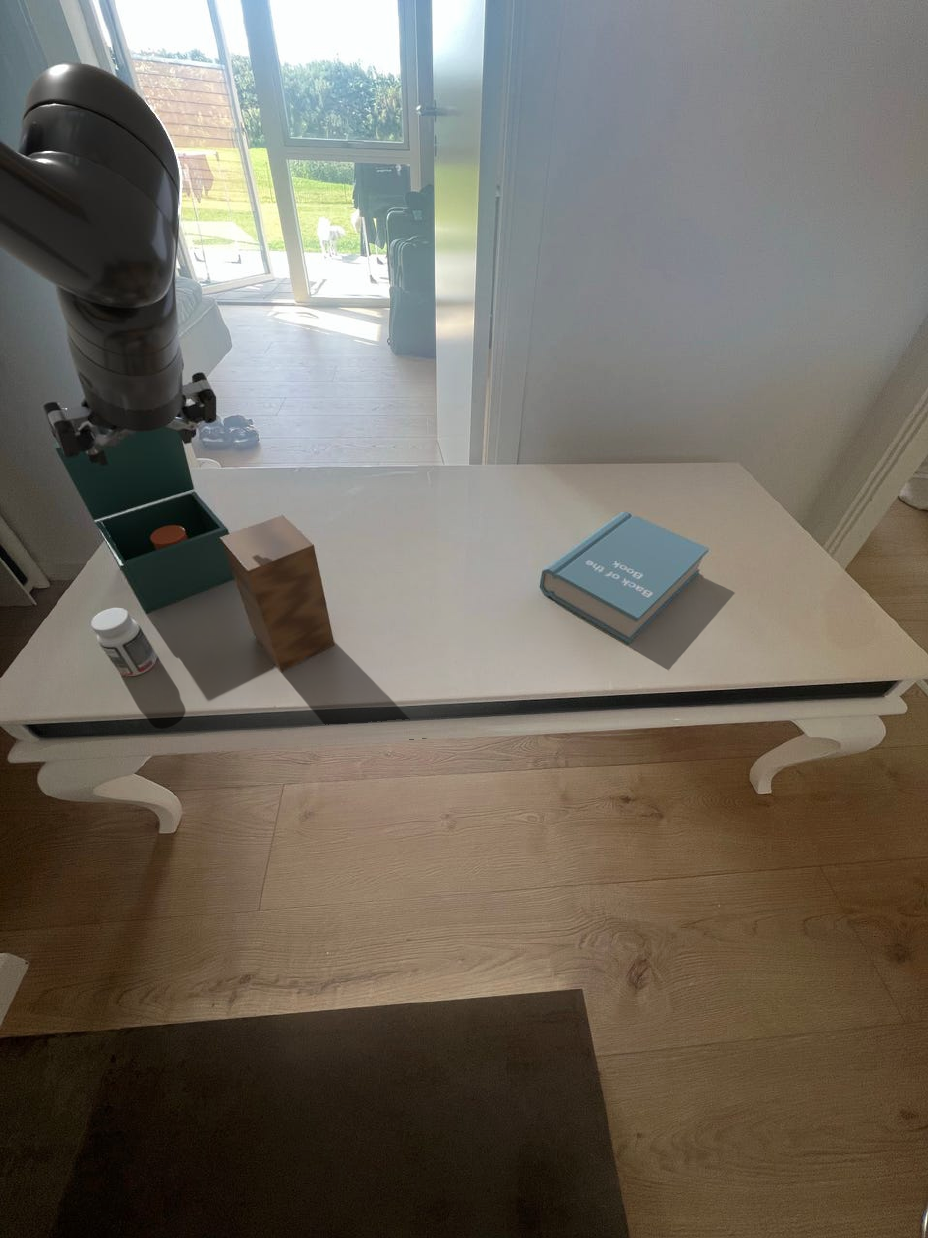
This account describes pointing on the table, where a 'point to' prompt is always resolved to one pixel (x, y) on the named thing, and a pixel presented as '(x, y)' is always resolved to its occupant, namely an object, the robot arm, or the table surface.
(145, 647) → the pill bottle
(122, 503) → the lid
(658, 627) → the table surface
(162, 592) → the chest
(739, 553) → the table surface
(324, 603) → the stand
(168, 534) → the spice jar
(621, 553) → the book
